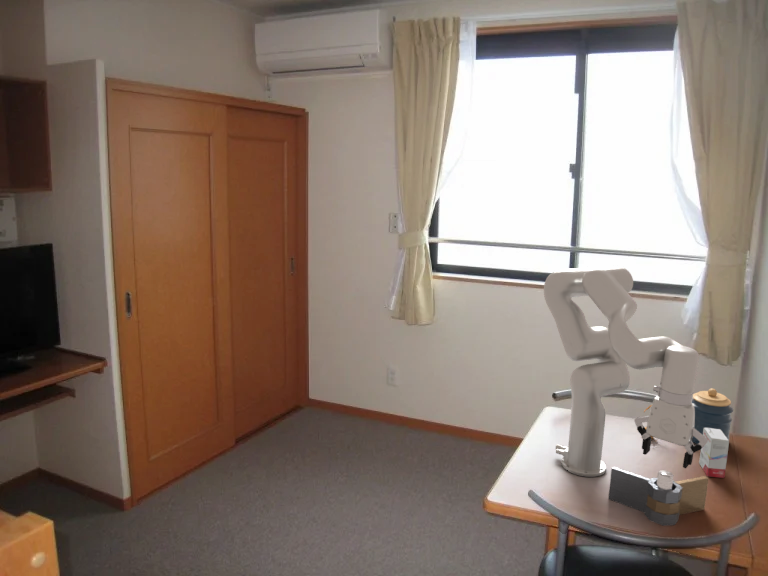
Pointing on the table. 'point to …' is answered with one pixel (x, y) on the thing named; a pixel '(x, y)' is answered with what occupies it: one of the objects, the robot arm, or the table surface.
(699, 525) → the table surface
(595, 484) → the table surface
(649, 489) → the fixed hinge leaf
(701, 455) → the ink box
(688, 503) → the bronze hinge leaf
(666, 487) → the hinge pin
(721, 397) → the canister
